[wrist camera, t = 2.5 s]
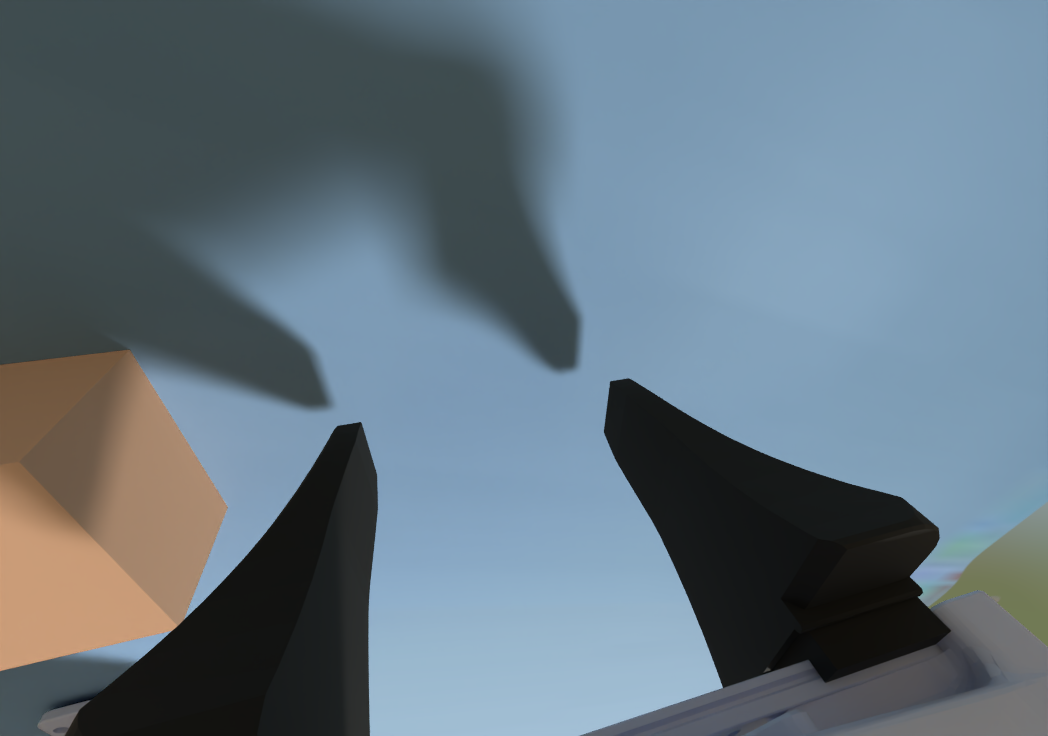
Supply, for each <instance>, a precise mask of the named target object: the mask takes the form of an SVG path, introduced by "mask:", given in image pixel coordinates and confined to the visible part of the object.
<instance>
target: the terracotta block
mask: <svg viewBox="0 0 1048 736" xmlns="http://www.w3.org/2000/svg"><path fill="white" fill-rule="evenodd" d="M227 508H228V507H227V505H226V503H225V502H224V500H223V499H222V497H221V495H220V494H219V492H218V491H217V489H216V487H215V486H214V484H213V483H212V481H211V479H210V478H209V476H208V475H207V473H206V471H205V470H204V468H203V467H202V465H201V463H200V462H199V460H198V459H197V457H196V455H195V454H194V452H193V451H192V449H191V447H190V446H189V444H188V442H187V441H186V439H185V438H184V436H183V434H182V433H181V431H180V430H179V428H178V426H177V425H176V423H175V422H174V420H173V418H172V417H171V415H170V414H169V412H168V410H167V409H166V407H165V406H164V404H163V402H162V401H161V399H160V398H159V396H158V394H157V393H156V391H155V390H154V388H153V386H152V385H151V383H150V381H149V380H148V378H147V377H146V375H145V373H144V372H143V370H142V369H141V367H140V365H139V364H138V362H137V361H136V359H135V357H134V356H133V354H132V353H131V351H130V350H122V351H113V352H105V353H96V354H88V355H79V356H71V357H62V358H54V359H46V360H37V361H29V362H20V363H12V364H3V365H0V671H2V670H6V669H10V668H15V667H19V666H23V665H27V664H32V663H36V662H40V661H45V660H49V659H53V658H57V657H62V656H66V655H70V654H74V653H79V652H83V651H87V650H91V649H96V648H100V647H104V646H109V645H113V644H117V643H121V642H126V641H130V640H134V639H138V638H143V637H147V636H151V635H155V634H160V633H164V632H168V631H173V630H174V629H175V628H176V627H177V626H178V625H179V624H180V623H181V622H182V621H183V620H184V618H185V615H186V613H187V610H188V608H189V605H190V602H191V600H192V597H193V595H194V592H195V590H196V587H197V585H198V582H199V579H200V577H201V574H202V572H203V569H204V567H205V564H206V562H207V559H208V556H209V554H210V551H211V549H212V546H213V544H214V541H215V539H216V536H217V534H218V531H219V528H220V526H221V523H222V521H223V518H224V516H225V513H226V511H227Z"/></svg>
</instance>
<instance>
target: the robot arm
mask: <svg viewBox="0 0 1048 736" xmlns="http://www.w3.org/2000/svg"><path fill="white" fill-rule="evenodd" d="M604 433H605V436H606V438H607V441H608V443H609V446H610V448H611V450H612V453H613V455H614V457H615V459H616V461H617V463H618V465H619V467H620V468H621V470H622V472H623V473H624V475H625V477H626V478H627V480H628V482H629V483H630V485H631V487H632V488H633V490H634V492H635V493H636V495H637V497H638V498H639V500H640V502H641V503H642V505H643V507H644V508H645V510H646V512H647V513H648V515H649V517H650V518H651V520H652V522H653V523H654V525H655V527H656V529H657V531H658V533H659V534H660V536H661V539H662V541H663V543H664V545H665V547H666V549H667V551H668V553H669V556H670V558H671V560H672V562H673V564H674V566H675V569H676V571H677V573H678V575H679V578H680V580H681V582H682V584H683V587H684V589H685V591H686V594H687V596H688V598H689V601H690V603H691V605H692V608H693V610H694V613H695V615H696V618H697V620H698V623H699V625H700V627H701V630H702V632H703V635H704V637H705V640H706V643H707V645H708V648H709V651H710V653H711V656H712V659H713V661H714V664H715V667H716V669H717V672H718V675H719V678H720V680H721V683H722V686H723V688H722V689H719V690H716V691H713V692H710V693H707V694H704V695H701V696H698V697H695V698H692V699H689V700H686V701H683V702H680V703H677V704H674V705H671V706H668V707H665V708H662V709H659V710H656V711H653V712H650V713H647V714H644V715H641V716H638V717H635V718H632V719H629V720H626V721H623V722H620V723H617V724H614V725H611V726H608V727H605V728H602V729H598V730H595V731H592V732H589V733H586V734H583V735H580V736H1048V647H1047V646H1046V645H1045V644H1044V643H1043V642H1041V641H1040V640H1039V639H1038V638H1037V637H1036V636H1034V635H1033V634H1032V633H1031V632H1030V631H1028V629H1026V628H1025V627H1024V626H1023V625H1022V624H1020V623H1019V622H1018V621H1017V620H1016V619H1015V618H1014V617H1012V616H1011V615H1010V614H1009V613H1008V612H1007V611H1006V610H1004V609H1003V608H1002V607H1001V606H1000V605H999V604H998V603H996V602H995V601H994V600H993V599H992V598H991V597H989V596H988V595H987V594H986V593H985V592H983V591H978V590H977V591H974V592H971V593H968V594H965V595H961V596H958V597H955V598H952V599H949V600H946V601H944V602H941V603H939V604H937V605H936V606H934V607H932V608H931V609H929V608H928V607H927V606H926V605H925V604H924V603H923V602H922V601H921V600H920V599H919V598H918V596H920V595H921V594H922V593H923V591H922V588H921V587H920V586H919V585H918V584H917V583H916V582H914V581H913V580H912V579H911V578H910V575H911V574H912V573H913V572H914V571H915V570H916V569H917V568H918V567H919V565H920V564H921V563H922V562H923V561H924V560H925V559H926V558H927V557H928V555H929V554H930V553H931V552H932V551H933V549H934V548H935V547H936V545H937V543H938V541H939V538H940V537H939V528H938V527H937V526H935V525H934V524H933V523H932V522H931V521H929V520H928V519H927V518H926V517H925V516H923V515H922V514H921V513H920V512H919V511H917V510H916V509H915V508H914V507H913V506H911V505H910V504H909V503H908V502H907V501H905V500H904V499H903V498H901V497H898V496H894V495H890V494H887V493H883V492H879V491H875V490H871V489H867V488H864V487H860V486H856V485H852V484H849V483H845V482H842V481H839V480H836V479H832V478H829V477H826V476H823V475H820V474H817V473H814V472H811V471H808V470H805V469H802V468H799V467H797V466H794V465H791V464H789V463H786V462H784V461H781V460H778V459H776V458H773V457H771V456H768V455H766V454H764V453H761V452H759V451H757V450H754V449H752V448H750V447H748V446H746V445H744V444H741V443H739V442H737V441H735V440H733V439H731V438H729V437H727V436H725V435H723V434H721V433H719V432H717V431H716V430H714V429H712V428H710V427H708V426H706V425H705V424H703V423H701V422H699V421H698V420H696V419H694V418H692V417H691V416H689V415H687V414H686V413H684V412H682V411H681V410H679V409H677V408H676V407H674V406H673V405H671V404H669V403H668V402H666V401H665V400H663V399H662V398H660V397H658V396H657V395H655V394H654V393H652V392H651V391H649V390H647V389H646V388H644V387H643V386H641V385H639V384H638V383H636V382H634V381H633V380H631V379H629V378H628V379H622V380H616V381H610V388H609V396H608V404H607V411H606V419H605V427H604ZM377 511H378V492H377V473H376V470H375V466H374V463H373V460H372V456H371V453H370V450H369V446H368V443H367V440H366V436H365V433H364V430H363V426H362V423H361V422H359V423H353V424H347V425H340V426H337V427H336V428H335V429H334V431H333V433H332V434H331V436H330V438H329V440H328V441H327V443H326V445H325V447H324V448H323V450H322V452H321V453H320V455H319V457H318V458H317V460H316V462H315V463H314V465H313V467H312V468H311V470H310V471H309V473H308V474H307V476H306V477H305V479H304V480H303V482H302V483H301V485H300V487H299V488H298V490H297V491H296V492H295V494H294V495H293V497H292V498H291V499H290V501H289V502H288V504H287V505H286V506H285V508H284V509H283V510H282V512H281V513H280V515H279V516H278V517H277V519H276V520H275V521H274V523H273V524H272V525H271V527H270V528H269V529H268V530H267V532H266V533H265V534H264V535H263V537H262V538H261V539H260V540H259V541H258V543H257V544H256V545H255V546H254V547H253V549H252V550H251V551H250V552H249V553H248V554H247V556H246V557H245V558H244V559H243V560H242V561H241V562H240V563H239V564H238V566H237V567H236V568H235V569H234V570H233V571H232V572H231V573H230V574H229V575H228V576H227V577H226V579H225V580H224V581H223V582H222V583H221V584H220V585H219V586H218V587H217V588H216V589H215V590H214V591H213V592H212V593H211V594H210V595H209V596H208V597H207V598H206V599H205V600H204V601H203V602H202V603H201V604H200V605H199V606H198V607H197V608H196V609H195V610H194V611H193V612H192V613H191V614H190V615H189V616H188V617H187V618H185V619H184V620H183V621H182V622H181V623H180V624H179V625H178V626H177V627H176V628H175V629H174V630H173V631H171V632H170V633H169V634H168V635H167V636H166V637H165V638H164V639H163V640H162V641H160V642H159V643H158V644H157V645H156V646H155V647H154V648H153V649H151V650H150V651H149V652H148V653H147V654H146V655H145V656H143V657H142V658H141V659H140V660H139V661H137V662H136V663H135V664H134V665H133V666H131V667H130V668H129V669H128V670H127V671H125V672H124V673H123V674H122V675H121V676H120V677H118V678H117V679H116V680H115V681H114V682H112V683H111V684H110V685H109V686H108V687H106V688H105V689H104V690H103V691H102V692H100V693H99V694H98V695H97V696H96V697H94V698H93V699H92V700H88V701H84V702H81V703H77V704H73V705H69V706H65V707H61V708H57V709H53V710H50V711H48V712H46V713H45V714H43V716H42V718H41V719H40V721H39V723H38V728H39V729H40V730H42V731H44V732H46V733H48V734H50V735H51V736H370V723H369V665H368V611H369V590H370V580H371V570H372V561H373V551H374V542H375V532H376V522H377Z"/></svg>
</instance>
